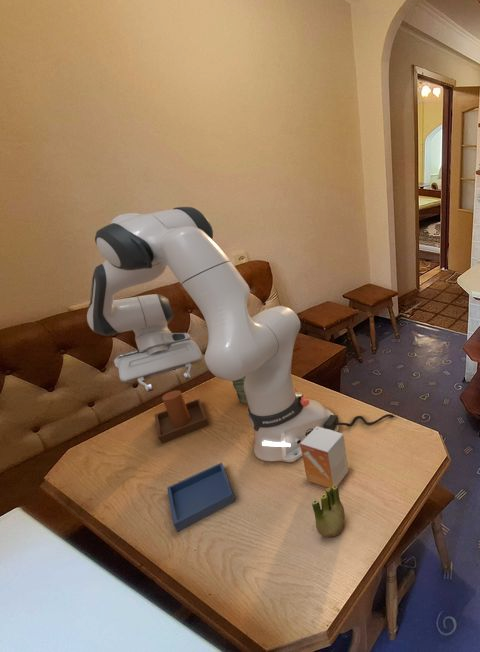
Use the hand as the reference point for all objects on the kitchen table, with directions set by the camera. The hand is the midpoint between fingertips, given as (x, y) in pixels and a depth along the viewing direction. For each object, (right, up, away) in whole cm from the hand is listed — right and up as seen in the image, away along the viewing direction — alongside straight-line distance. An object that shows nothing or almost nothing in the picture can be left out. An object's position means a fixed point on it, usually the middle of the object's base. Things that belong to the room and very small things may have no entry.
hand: (169, 384), depth 110 cm
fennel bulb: (+63, -25, -31) cm, 74 cm away
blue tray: (+29, -21, -25) cm, 44 cm away
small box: (+57, -20, -19) cm, 63 cm away
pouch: (+21, -6, +10) cm, 24 cm away
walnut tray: (+6, -11, -3) cm, 13 cm away
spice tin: (+6, -11, -3) cm, 13 cm away
